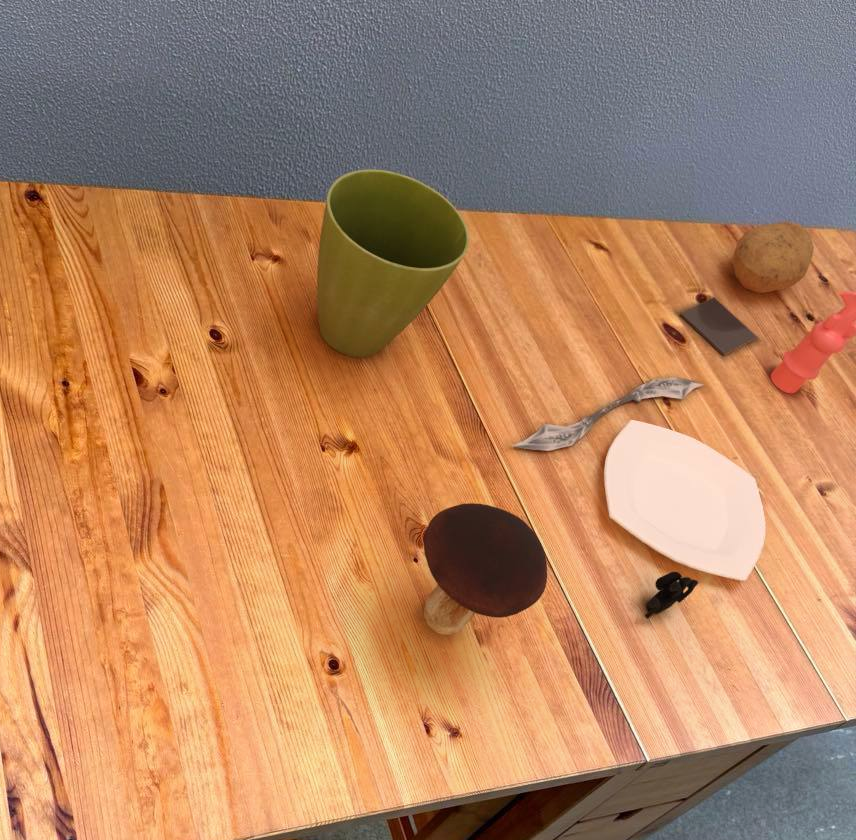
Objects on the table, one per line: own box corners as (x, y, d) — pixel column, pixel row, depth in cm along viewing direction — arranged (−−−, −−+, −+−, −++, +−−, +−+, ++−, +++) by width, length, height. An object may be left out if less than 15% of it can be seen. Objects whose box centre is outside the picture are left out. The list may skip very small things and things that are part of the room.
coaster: (755, 339, 130) (757, 337, 130) (723, 356, 126) (725, 354, 125) (712, 299, 132) (714, 297, 132) (679, 314, 128) (680, 312, 128)
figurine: (764, 385, 125) (846, 298, 113) (766, 361, 128) (846, 273, 116) (800, 403, 125) (886, 317, 113) (801, 378, 128) (885, 292, 116)
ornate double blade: (705, 388, 120) (677, 361, 122) (707, 385, 120) (679, 358, 122) (536, 476, 104) (506, 443, 106) (538, 472, 103) (508, 439, 105)
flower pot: (336, 268, 114) (379, 150, 102) (437, 340, 112) (495, 229, 100) (260, 325, 106) (297, 204, 93) (369, 405, 103) (422, 291, 91)
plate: (749, 609, 102) (761, 600, 100) (582, 530, 102) (591, 519, 100) (760, 484, 113) (770, 474, 112) (610, 413, 113) (619, 402, 112)
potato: (699, 272, 135) (734, 226, 129) (749, 246, 143) (784, 201, 137) (753, 318, 132) (791, 273, 126) (800, 289, 140) (839, 245, 134)
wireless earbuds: (637, 625, 96) (665, 599, 92) (621, 605, 97) (648, 578, 93) (682, 602, 100) (711, 577, 96) (667, 583, 101) (695, 557, 97)
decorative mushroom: (414, 688, 85) (483, 602, 73) (363, 583, 90) (420, 487, 78) (514, 658, 90) (594, 573, 78) (461, 560, 95) (528, 466, 83)
